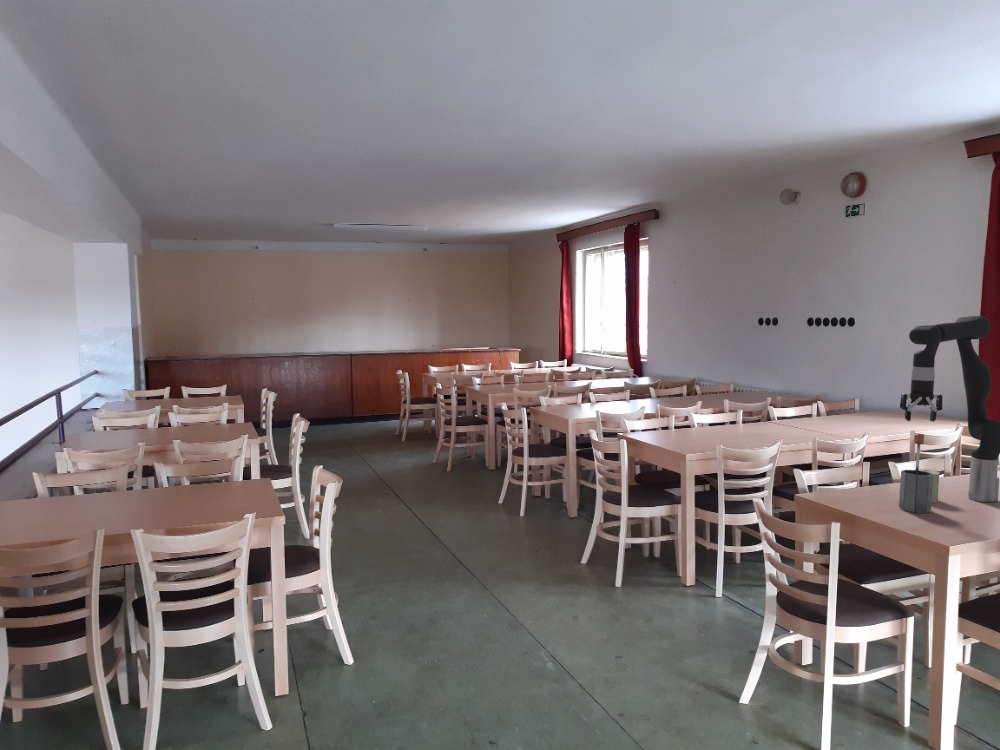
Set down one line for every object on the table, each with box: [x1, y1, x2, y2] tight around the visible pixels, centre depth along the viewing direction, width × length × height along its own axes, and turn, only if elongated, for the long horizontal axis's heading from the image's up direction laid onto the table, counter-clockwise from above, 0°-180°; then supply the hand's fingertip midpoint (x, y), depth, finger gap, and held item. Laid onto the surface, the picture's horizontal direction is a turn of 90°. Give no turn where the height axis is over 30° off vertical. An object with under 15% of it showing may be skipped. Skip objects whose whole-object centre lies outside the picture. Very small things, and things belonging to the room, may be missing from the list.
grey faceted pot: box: [898, 469, 933, 514], centre depth 279 cm, size 10×12×14 cm
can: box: [919, 468, 940, 503], centre depth 293 cm, size 9×9×12 cm
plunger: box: [913, 433, 925, 475], centre depth 276 cm, size 7×7×20 cm
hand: (920, 421), depth 275 cm, fingers open, 8 cm apart
